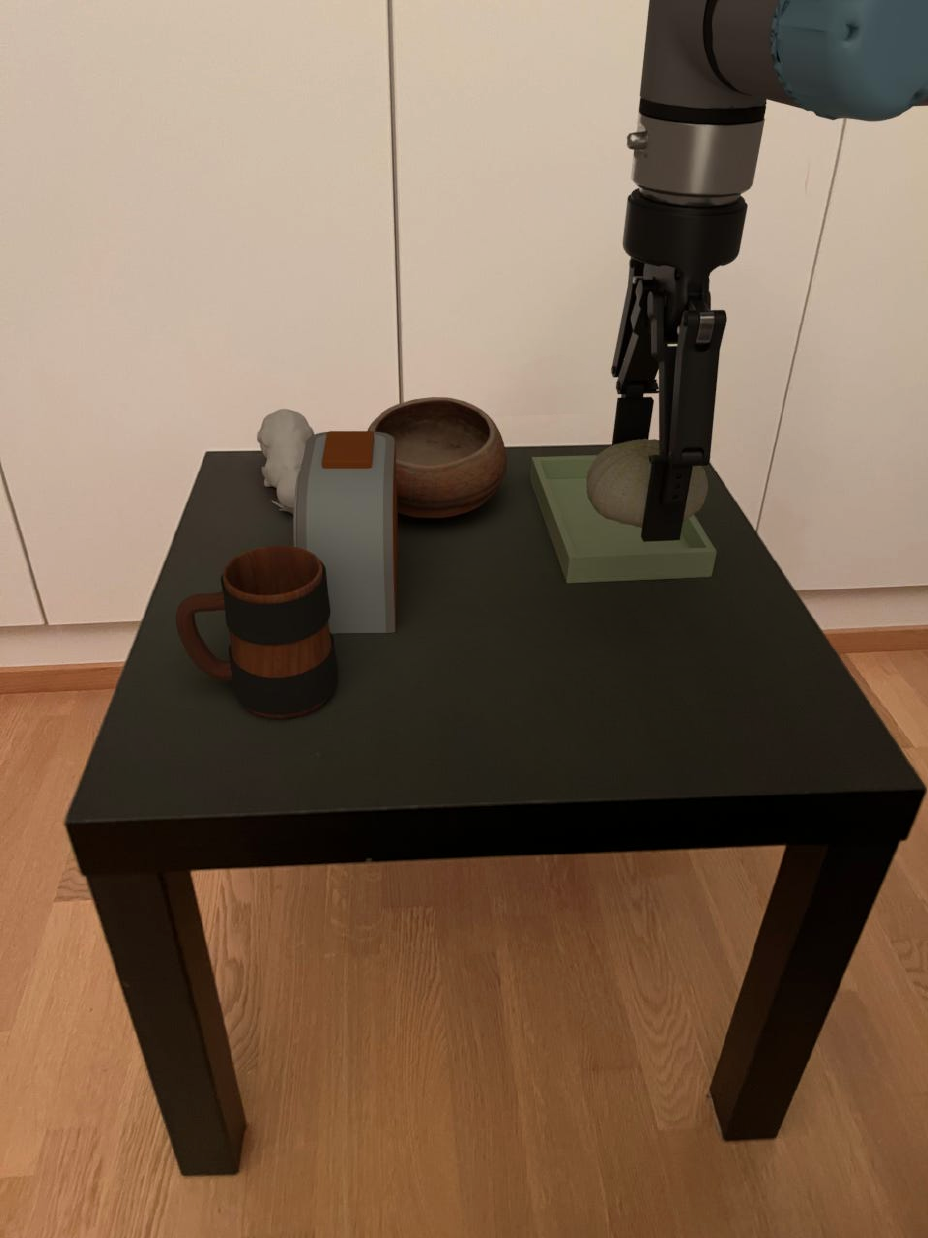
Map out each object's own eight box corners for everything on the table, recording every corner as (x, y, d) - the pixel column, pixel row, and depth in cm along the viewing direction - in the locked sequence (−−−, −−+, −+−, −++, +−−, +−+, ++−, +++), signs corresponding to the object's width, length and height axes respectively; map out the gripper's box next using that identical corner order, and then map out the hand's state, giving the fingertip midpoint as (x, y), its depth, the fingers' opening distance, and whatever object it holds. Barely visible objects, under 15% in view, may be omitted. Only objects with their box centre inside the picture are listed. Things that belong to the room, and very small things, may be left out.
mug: (190, 669, 80) (168, 551, 74) (331, 650, 83) (322, 535, 76) (191, 737, 74) (167, 615, 67) (345, 714, 76) (337, 594, 69)
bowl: (346, 531, 99) (341, 444, 94) (380, 465, 112) (377, 384, 106) (494, 546, 98) (498, 458, 92) (512, 477, 110) (516, 395, 104)
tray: (711, 577, 94) (717, 551, 92) (566, 583, 92) (569, 557, 90) (652, 476, 111) (656, 452, 109) (530, 480, 110) (531, 456, 108)
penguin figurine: (310, 400, 105) (323, 456, 96) (315, 466, 111) (328, 525, 102) (252, 404, 104) (260, 461, 95) (260, 470, 110) (268, 531, 101)
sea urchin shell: (741, 489, 72) (701, 438, 66) (677, 573, 72) (631, 531, 66) (656, 444, 77) (612, 393, 71) (597, 522, 78) (549, 478, 72)
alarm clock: (315, 546, 97) (304, 423, 89) (398, 546, 97) (395, 423, 89) (300, 633, 85) (287, 499, 77) (396, 632, 85) (392, 499, 77)
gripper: (591, 157, 68) (565, 443, 81) (683, 237, 51) (631, 586, 64) (692, 157, 69) (650, 441, 82) (817, 236, 51) (738, 581, 64)
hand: (641, 504), depth 73 cm, fingers closed on sea urchin shell, 9 cm apart
